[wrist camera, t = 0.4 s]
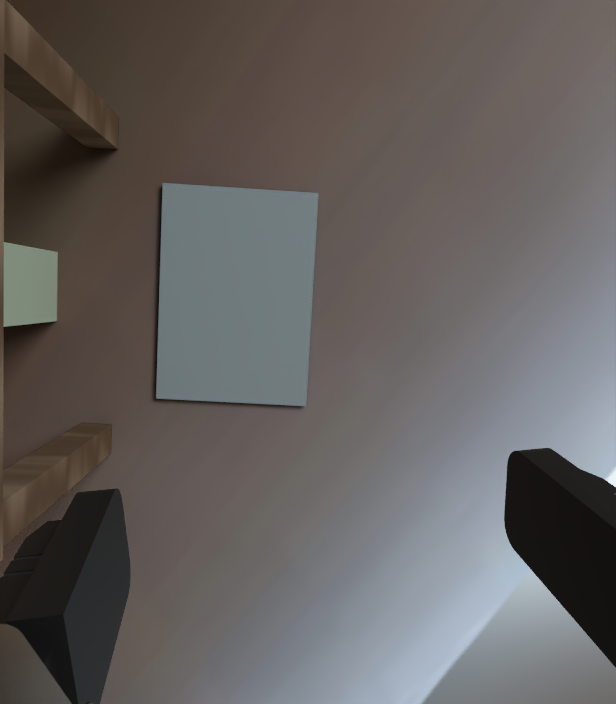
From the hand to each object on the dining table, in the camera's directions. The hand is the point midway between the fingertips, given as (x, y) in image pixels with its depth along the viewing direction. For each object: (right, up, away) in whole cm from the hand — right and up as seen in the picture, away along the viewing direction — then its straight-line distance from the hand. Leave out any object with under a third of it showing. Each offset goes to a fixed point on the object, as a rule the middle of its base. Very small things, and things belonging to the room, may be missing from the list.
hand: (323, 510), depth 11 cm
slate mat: (-5, +7, +25) cm, 27 cm away
